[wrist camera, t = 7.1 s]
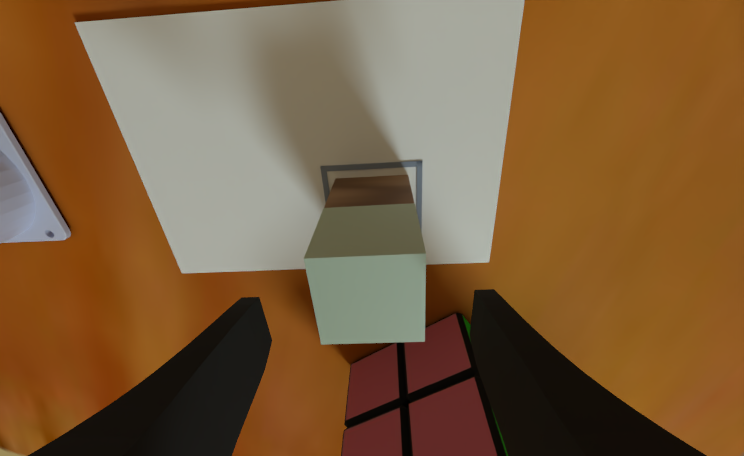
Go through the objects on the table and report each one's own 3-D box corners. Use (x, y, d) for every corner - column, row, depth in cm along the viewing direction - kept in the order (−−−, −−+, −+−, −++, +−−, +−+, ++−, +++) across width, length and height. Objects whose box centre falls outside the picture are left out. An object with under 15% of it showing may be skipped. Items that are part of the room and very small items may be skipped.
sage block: (335, 280, 16) (321, 344, 12) (323, 208, 14) (303, 258, 10) (415, 277, 16) (424, 341, 12) (414, 203, 14) (426, 253, 10)
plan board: (184, 270, 21) (181, 274, 21) (79, 23, 14) (72, 22, 14) (487, 259, 20) (489, 263, 20) (523, -14, 13) (527, -16, 13)
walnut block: (343, 240, 19) (334, 281, 16) (335, 178, 17) (323, 208, 14) (408, 238, 19) (414, 278, 16) (408, 174, 17) (414, 204, 14)
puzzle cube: (347, 362, 25) (329, 526, 16) (458, 307, 22) (509, 472, 13) (416, 423, 29) (431, 584, 20) (519, 383, 26) (590, 552, 17)
